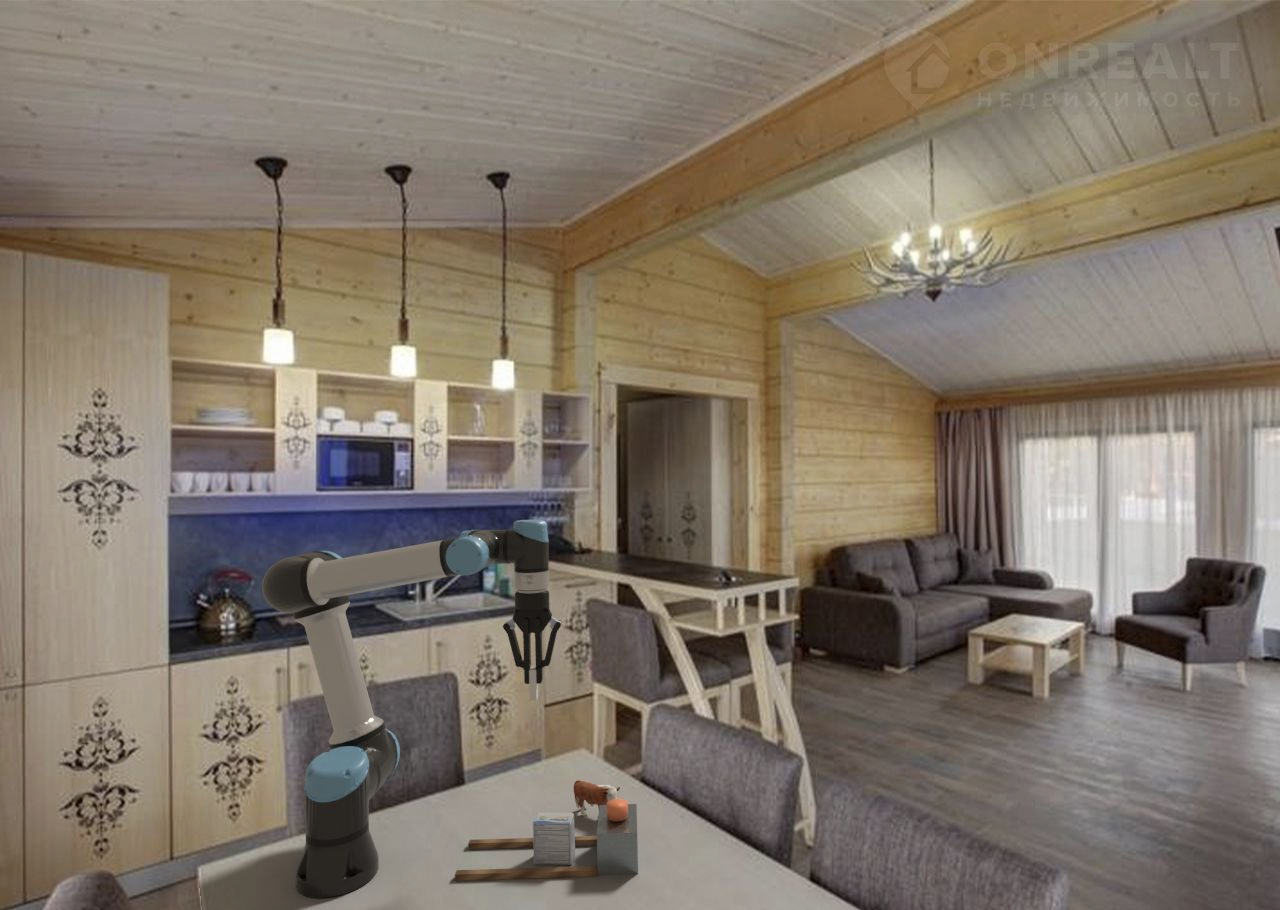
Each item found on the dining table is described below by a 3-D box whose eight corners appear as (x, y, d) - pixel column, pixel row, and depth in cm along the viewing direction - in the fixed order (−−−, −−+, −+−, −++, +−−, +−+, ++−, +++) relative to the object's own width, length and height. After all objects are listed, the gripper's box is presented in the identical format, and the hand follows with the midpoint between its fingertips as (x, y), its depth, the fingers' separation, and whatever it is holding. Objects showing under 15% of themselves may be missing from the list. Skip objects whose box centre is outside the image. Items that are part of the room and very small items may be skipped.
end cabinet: (597, 874, 138) (596, 833, 138) (600, 842, 150) (599, 805, 150) (638, 873, 138) (637, 832, 139) (637, 841, 150) (636, 803, 151)
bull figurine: (614, 829, 156) (613, 792, 156) (570, 812, 164) (569, 777, 164) (626, 821, 159) (625, 785, 160) (582, 805, 168) (581, 770, 168)
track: (454, 880, 137) (454, 874, 137) (469, 845, 150) (469, 839, 150) (597, 876, 138) (597, 870, 138) (600, 841, 151) (600, 835, 151)
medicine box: (575, 854, 146) (574, 812, 146) (571, 866, 142) (570, 822, 142) (538, 853, 147) (537, 811, 147) (533, 865, 142) (532, 822, 142)
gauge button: (606, 841, 142) (606, 809, 142) (607, 830, 147) (606, 799, 147) (628, 840, 142) (627, 808, 142) (628, 829, 147) (627, 798, 147)
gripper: (499, 593, 150) (500, 704, 149) (559, 592, 150) (562, 703, 150) (505, 588, 157) (507, 693, 157) (563, 586, 158) (565, 692, 157)
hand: (533, 698), depth 153 cm, fingers closed
